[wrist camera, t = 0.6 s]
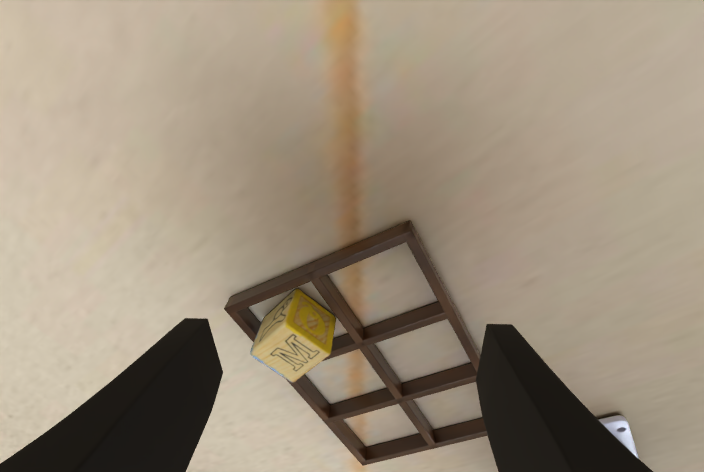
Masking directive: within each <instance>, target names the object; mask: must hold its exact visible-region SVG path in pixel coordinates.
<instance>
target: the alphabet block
mask: <svg viewBox="0 0 704 472" xmlns="http://www.w3.org/2000/svg"><path fill="white" fill-rule="evenodd" d="M335 322H336V318H335V316H334V315H333V314H331V313H330V312H328V311H327V310H326V309H324V308H323V307H322V306H320V305H319V304H318V303H317V302H315V301H314V300H312V299H311V298H310V297H308V296H307V295H305V294H304V293H303V292H302V291H300V290H299V289H295V290H294V291H293V292H292V293H291V294H290V295H288V296H287V297H286V298H285V299H284V300H283V301H282V302H281V303H280V304H279V305H278V306H277V307H275V308H274V309H273V310H272V311H271V312H270V313H269V314H268V315H267V316H266V317H264V319H263V321H262V323H261V326H260V328H259V331H258V333H257V335H256V338H255V340H254V343H253V345H252V348H251V351H250V354H251V355H252V356H253V357H254V358H255V359H257V360H258V361H260V362H261V363H263V364H264V365H266V366H267V367H269V368H270V369H272V370H273V371H275V372H277V373H278V374H279V375H281V376H283V377H284V378H286V379H288V380H289V381H290V382H292V383H293V382H295V381H296V380H297V379H299V378H300V377H301V376H303V375H304V374H305V373H307V372H308V371H309V370H311V369H312V368H313V367H315V366H316V365H317V364H319V363H320V362H321V361H322V360H324V359H325V358H326V357H328V356H329V355H330V353H331V348H332V341H333V334H334V328H335Z"/></svg>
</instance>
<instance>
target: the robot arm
mask: <svg viewBox="0 0 704 472" xmlns="http://www.w3.org/2000/svg"><path fill="white" fill-rule="evenodd" d="M222 374H223V371H222V367H221V364H220V360H219V357H218V353H217V350H216V346H215V343H214V340H213V336H212V333H211V329H210V326H209V322H208V319H193V318H185V319H184V320H183V321H181V322H180V323H179V324H178V325H176V326H175V327H174V328H173V329H172V330H171V331H169V332H168V333H167V334H166V335H165V336H164V337H163V338H161V339H160V340H159V341H158V342H157V343H156V344H155V345H153V346H152V347H151V348H150V349H149V350H148V351H146V352H145V353H144V354H143V355H142V356H141V357H140V358H138V359H137V360H136V361H135V362H134V363H132V364H131V365H130V366H129V367H128V368H127V369H125V370H124V371H123V372H122V373H121V374H120V375H118V376H117V377H116V378H115V379H114V380H112V381H111V382H110V383H109V384H107V385H106V386H105V387H104V388H102V389H101V390H100V391H99V392H97V393H96V394H95V395H94V396H92V397H91V398H90V399H89V400H87V401H86V402H85V403H84V404H82V405H81V406H80V407H78V408H77V409H76V410H75V411H73V412H72V413H71V414H70V415H68V416H67V417H66V418H64V419H63V420H62V421H60V422H59V423H58V424H56V425H55V426H54V427H52V428H51V429H50V430H48V431H47V432H45V433H44V434H43V435H41V436H40V437H38V438H37V439H36V440H34V441H33V442H31V443H30V444H28V445H27V446H26V447H24V448H23V449H21V450H20V451H18V452H17V453H16V454H14V455H13V456H11V457H10V458H8V459H7V460H5V461H4V462H2V463H1V464H0V472H186V469H187V467H188V465H189V462H190V460H191V458H192V456H193V453H194V451H195V449H196V446H197V444H198V442H199V439H200V437H201V435H202V432H203V430H204V428H205V425H206V423H207V421H208V418H209V416H210V413H211V411H212V408H213V405H214V402H215V398H216V395H217V392H218V388H219V385H220V381H221V378H222ZM476 383H477V389H478V394H479V400H480V406H481V411H482V416H483V421H484V424H485V428H486V431H487V434H488V438H489V441H490V445H491V448H492V451H493V455H494V458H495V461H496V465H497V468H498V471H499V472H653V471H652V470H651V469H649V468H648V467H647V466H646V465H645V464H644V463H643V462H641V461H640V460H639V457H638V454H637V450H636V447H635V444H634V440H633V437H632V434H631V430H630V427H629V424H628V422H627V420H626V418H625V417H624V416H621V415H616V416H612V417H607V418H603V419H599V420H598V419H597V418H596V417H595V416H594V415H593V414H592V413H591V412H590V411H589V410H588V409H587V408H586V407H585V406H584V405H583V404H582V403H581V402H580V400H579V399H578V398H577V397H576V396H575V395H574V394H573V393H572V392H571V391H570V390H569V389H568V388H567V387H566V385H565V384H564V383H563V382H562V381H561V380H560V379H559V378H558V377H557V376H556V374H555V373H554V372H553V371H552V370H551V369H550V368H549V367H548V365H547V364H546V363H545V362H544V361H543V360H542V359H541V357H540V356H539V355H538V354H537V353H536V352H535V351H534V349H533V348H532V347H531V346H530V345H529V344H528V342H527V341H526V340H525V339H524V338H523V337H522V335H521V334H520V333H519V332H518V331H517V330H516V328H515V327H514V326H513V325H510V324H487V326H486V331H485V336H484V341H483V346H482V351H481V356H480V361H479V366H478V371H477V376H476Z"/></svg>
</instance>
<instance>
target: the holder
mask: <svg viewBox="0 0 704 472" xmlns="http://www.w3.org/2000/svg"><path fill="white" fill-rule="evenodd" d="M405 242H407V244H408V246H409V248H410V249H411V251H412V253H413V255H414V257H415V259H416V261H417V262H418V264H419V266H420V268H421V270H422V272H423V274H424V275H425V277H426V279H427V281H428V283H429V285H430V287H431V288H432V290H433V292H434V294H435V296H436V298H437V299H438V301H439V302H436V303H433V304H431V305H428V306H425V307H422V308H419V309H417V310H414V311H411V312H408V313H405V314H402V315H400V316H397V317H394V318H391V319H388V320H386V321H383V322H380V323H377V324H374V325H372V326H369V327H366V328H363V327H362V326H361V324H360V323H359V321H358V320H357V318H356V317H355V315H354V314H353V312H352V311H351V310H350V308H349V307H348V305H347V304H346V302H345V301H344V299H343V298H342V296H341V295H340V294H339V292H338V291H337V289H336V288H335V286H334V285H333V283H332V282H331V280H330V279H329V277H328V276H327V274H329V273H332V272H334V271H337V270H339V269H342V268H344V267H346V266H349V265H351V264H354V263H356V262H358V261H361V260H363V259H366V258H368V257H371V256H373V255H375V254H378V253H380V252H383V251H385V250H388V249H390V248H392V247H395V246H397V245H400V244H402V243H405ZM310 281H311V282H312V283H313V284H314V286H315V287H316V289H317V290H318V291H319V293H320V294H321V296H322V297H323V298H324V300H325V301H326V303H327V304H328V305H329V307H330V308H331V310H332V311H333V312H334V314H335V315H336V317H337V318H338V319H339V321H340V322H341V323H342V325H343V326H344V328H345V329H346V330H347V332H348V333H349V334H346V335H343V336H341V337H338V338H335V339H333V341H332V348H331V353H330V355H329V356H328V357H326V358H325V359H324V360H327V359H330V358H333V357H336V356H339V355H342V354H345V353H348V352H351V351H353V350H356V349H360V350H361V351H362V353H363V354H364V356H365V357H366V358H367V360H368V361H369V363H370V364H371V365H372V367H373V368H374V370H375V371H376V372H377V374H378V375H379V377H380V378H381V379H382V381H383V382H384V384H385V385H386V386H387V388H386V389H383V390H380V391H376V392H373V393H370V394H366V395H363V396H360V397H356V398H353V399H350V400H346V401H343V402H340V403H336V404H333V405H329V404H328V402H327V401H326V400H325V399H324V398H323V396H322V395H321V394H320V393H319V392H318V391H317V389H316V388H315V387H314V386H313V385H312V383H311V382H310V381H309V380H308V379H307V378H306V376H305V375H303V376H301V377H300V378H299V379H297V380H296V381H295V382H293V383H292V382H290V381H289V380H288V379H287V381H288V382H289V383H290V384H291V385H292V386H293V387H294V389H295V390H296V391H297V392H298V393H299V394H300V395H301V396H302V398H303V399H304V400H305V401H306V402H307V403H308V404H309V405H310V407H311V408H312V409H313V410H314V411H315V412H316V413H317V414H318V416H319V417H320V418H321V419H322V420H323V421H324V422H325V424H326V425H327V426H328V427H329V428H330V429H331V430H332V431H333V433H334V434H335V435H336V436H337V437H338V438H339V439H340V440H341V442H342V443H343V444H344V445H345V446H346V447H347V448H348V450H349V451H350V452H351V453H352V454H353V455H354V456H355V457H356V459H357V460H358V461H359V462H360V463H361V464H362V465H367V464H371V463H376V462H380V461H384V460H388V459H392V458H396V457H400V456H405V455H409V454H413V453H417V452H421V451H425V450H429V449H434V448H438V447H442V446H446V445H450V444H454V443H458V442H463V441H467V440H471V439H475V438H479V437H483V436H487V435H488V434H487V431H486V428H485V424H484V421H483V418H480V419H476V420H472V421H468V422H464V423H460V424H456V425H453V426H449V427H445V428H441V429H437V430H433V429H432V428H431V426H430V425H429V423H428V422H427V420H426V419H425V417H424V416H423V415H422V413H421V412H420V410H419V409H418V407H417V406H416V404H415V403H414V401H413V399H416V398H420V397H423V396H427V395H430V394H434V393H437V392H441V391H444V390H448V389H451V388H455V387H458V386H462V385H465V384H469V383H472V382H476V376H477V371H478V366H479V361H480V354H479V352H478V350H477V348H476V346H475V344H474V342H473V340H472V338H471V337H470V335H469V333H468V331H467V329H466V327H465V325H464V323H463V321H462V319H461V317H460V315H459V313H458V311H457V309H456V308H455V306H454V304H453V302H452V300H451V298H450V296H449V294H448V292H447V290H446V288H445V286H444V284H443V282H442V281H441V279H440V277H439V275H438V273H437V271H436V269H435V267H434V265H433V263H432V261H431V259H430V257H429V255H428V253H427V252H426V250H425V248H424V246H423V244H422V242H421V240H420V238H419V236H418V234H417V232H416V230H415V228H414V226H413V225H412V223H411V221H408V222H405V223H403V224H401V225H398V226H396V227H394V228H391V229H389V230H387V231H384V232H382V233H380V234H377V235H375V236H373V237H370V238H368V239H366V240H363V241H361V242H359V243H356V244H354V245H352V246H349V247H347V248H345V249H342V250H340V251H337V252H335V253H333V254H330V255H328V256H326V257H323V258H321V259H319V260H316V261H314V262H312V263H309V264H307V265H305V266H302V267H300V268H298V269H295V270H293V271H291V272H288V273H286V274H284V275H281V276H279V277H277V278H274V279H272V280H270V281H267V282H265V283H263V284H260V285H258V286H256V287H253V288H251V289H249V290H246V291H244V292H242V293H239V294H237V295H235V296H232V297H230V298H229V300H228V302H227V304H226V306H225V308H224V309H225V311H226V312H227V313H228V314H229V315H230V316H231V317H232V319H233V320H234V321H235V322H236V323H237V324H238V325H239V326H240V328H241V329H242V330H243V331H244V332H245V333H246V334H247V335H248V337H249V338H250V339H251V340H252V341H253V342H254V340H255V338H256V335H257V333H258V331H259V328H260V326H261V323H260V322H259V321H258V320H257V319H256V317H255V316H254V315H253V314H252V313H251V311H250V310H249V309H248V308H247V307H249V306H252V305H254V304H257V303H259V302H261V301H264V300H266V299H269V298H271V297H274V296H276V295H278V294H281V293H283V292H286V291H288V290H291V289H293V288H295V287H298V286H300V285H303V284H305V283H308V282H310ZM445 319H448V320H449V322H450V324H451V325H452V327H453V329H454V331H455V333H456V335H457V337H458V338H459V340H460V342H461V344H462V346H463V348H464V350H465V351H466V353H467V355H468V357H469V359H470V361H471V363H470V364H467V365H463V366H460V367H457V368H453V369H450V370H447V371H443V372H440V373H437V374H433V375H430V376H427V377H423V378H420V379H416V380H413V381H410V382H406V383H403V384H401V382H400V381H399V380H398V378H397V377H396V375H395V374H394V372H393V371H392V369H391V368H390V366H389V365H388V363H387V362H386V361H385V359H384V358H383V356H382V355H381V353H380V352H379V350H378V349H377V347H376V346H375V345H374V343H377V342H380V341H383V340H386V339H389V338H392V337H395V336H398V335H401V334H404V333H406V332H409V331H412V330H415V329H418V328H421V327H424V326H427V325H430V324H433V323H436V322H439V321H442V320H445ZM324 360H322V361H324ZM395 404H400V406H401V407H402V409H403V410H404V411H405V413H406V414H407V416H408V417H409V418H410V420H411V421H412V423H413V424H414V425H415V427H416V428H417V430H418V431H419V432H420V434H417V435H413V436H409V437H406V438H402V439H398V440H394V441H390V442H386V443H382V444H378V445H374V446H370V447H365V446H364V445H363V444H362V443H361V441H360V440H359V439H358V438H357V437H356V435H355V434H354V433H353V432H352V431H351V430H350V428H349V427H348V426H347V425H346V424H345V422H344V421H343V420H342V419H346V418H349V417H353V416H356V415H360V414H363V413H367V412H370V411H374V410H378V409H381V408H385V407H388V406H392V405H395Z"/></svg>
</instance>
